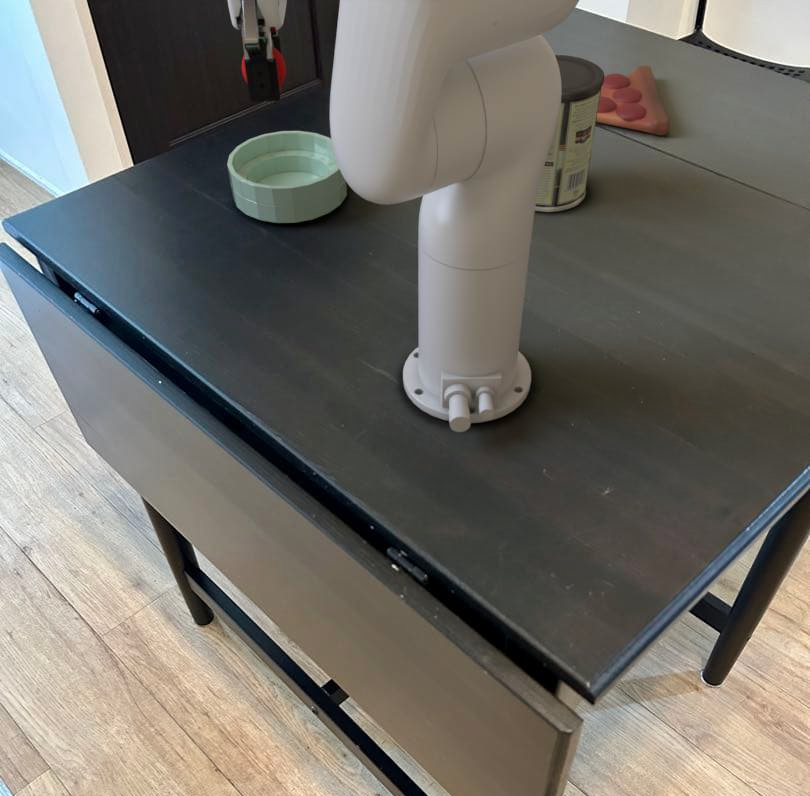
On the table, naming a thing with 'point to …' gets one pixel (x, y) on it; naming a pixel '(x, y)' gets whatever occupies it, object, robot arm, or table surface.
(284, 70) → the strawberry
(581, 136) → the coffee can
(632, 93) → the pizza slice
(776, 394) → the table surface
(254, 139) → the bowl
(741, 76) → the table surface
